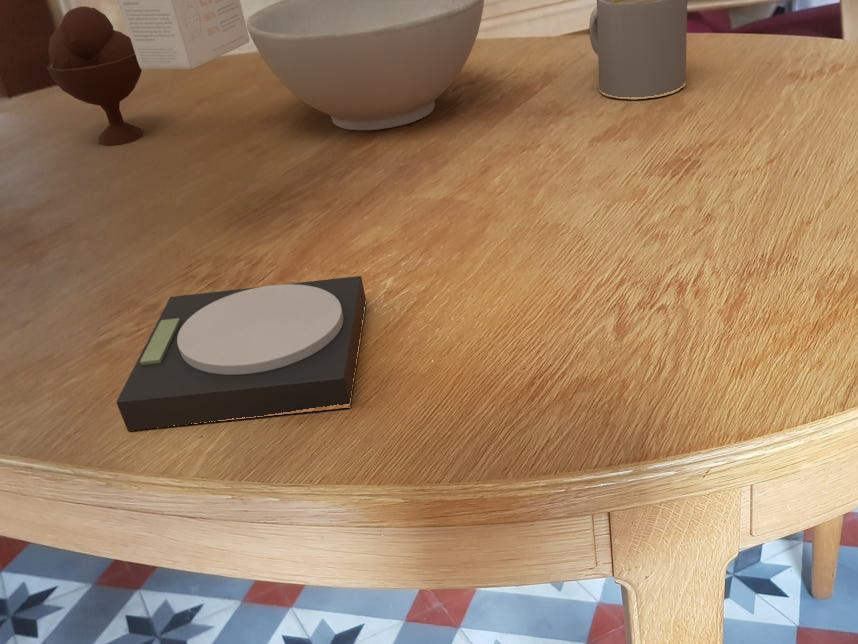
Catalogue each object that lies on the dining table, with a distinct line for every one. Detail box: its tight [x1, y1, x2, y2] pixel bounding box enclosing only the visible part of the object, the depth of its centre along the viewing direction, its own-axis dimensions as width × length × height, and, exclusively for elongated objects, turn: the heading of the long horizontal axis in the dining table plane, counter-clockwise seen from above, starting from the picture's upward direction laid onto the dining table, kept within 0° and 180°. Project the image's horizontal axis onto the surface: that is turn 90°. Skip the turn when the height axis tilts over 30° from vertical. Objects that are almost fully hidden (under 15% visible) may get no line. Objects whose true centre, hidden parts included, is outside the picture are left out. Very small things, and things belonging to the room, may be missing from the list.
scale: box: [115, 275, 367, 432], centre depth 67 cm, size 15×15×3 cm
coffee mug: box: [588, 0, 688, 98], centre depth 109 cm, size 13×10×10 cm
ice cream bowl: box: [46, 5, 145, 146], centre depth 113 cm, size 11×11×15 cm
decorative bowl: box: [246, 0, 485, 131], centre depth 110 cm, size 27×27×12 cm
